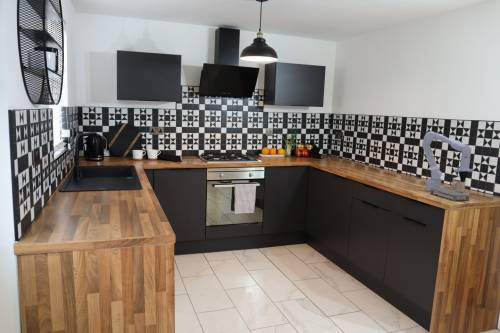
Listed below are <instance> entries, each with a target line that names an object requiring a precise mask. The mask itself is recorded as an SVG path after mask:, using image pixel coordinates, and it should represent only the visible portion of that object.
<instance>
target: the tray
mask: <svg viewBox="0 0 500 333" xmlns="http://www.w3.org/2000/svg"><path fill="white" fill-rule="evenodd" d="M436 196H438V197H442V198H445V199H448V200H452V201H453V196H451V195H447V194H444V193H440V192H436ZM465 199H466V197H457V199H456V201H465Z"/></svg>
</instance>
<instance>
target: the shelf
mask: <svg viewBox="0 0 500 333" xmlns="http://www.w3.org/2000/svg"><path fill="white" fill-rule="evenodd" d="M434 191H437V192H440V193H444V194H447V195H451V196H453V200H452V202H454V203H455V202H457V200H456V199H457V197H466V199H465V200H464V201H465V202H470V196H471V195H470V194H467V193H464V192H456V191H452V190H451V189H449V188H441V187H440V188H437V189H430V191H429V195H432V196H433V195H434V193H435V192H434ZM437 192H436V193H437Z"/></svg>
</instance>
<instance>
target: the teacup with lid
mask: <svg viewBox="0 0 500 333" xmlns="http://www.w3.org/2000/svg"><path fill="white" fill-rule="evenodd" d="M466 182H467V180H466V179H465V182H461V180H460V176H459V175H457V177H453V178H452V183H451V189H450V190H452V191H456V192H460V193H464V192H465V190H466V189H465V188H466Z"/></svg>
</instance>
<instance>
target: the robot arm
mask: <svg viewBox="0 0 500 333" xmlns="http://www.w3.org/2000/svg"><path fill="white" fill-rule="evenodd" d="M434 140H437V141H438V140H439V141H441V142H444V143H447V144H449V145H450V147H451V148H453V149H454V150H456V151H458V152H461V156H460V161H459V162H460V163H459V168H454V172H455V173H458V176H460V180H461V182H465V180H466V179H467V177H468V176H469V175H470V173H474V169H473V168H470V163H471V153H472V148H471V146H469V145H467V144H466V143H462V142H461V141H460V140H452V139H450V138H449V137H446V136H445V135H443V134H440V133H437V132H435V131H428V132H426V134H425V135H424V136H423V140H422V145H421V146H422V148H423V151H424V155H425V157H426V159H427V160H426V161H427V162H428V165H429V169H430V176H431V177H429V178H427V179H426V180H425V189H424V191H427V192H430V189H437V188H441V187H442V186H441V184H442V178H441V177H442V176H443V173H442V171H441V170H440V169H439V167H438V164H437V162H436V159H435V156H434V154H433V151H432V148H431V144H432V142H433V141H434ZM465 183H466V182H465ZM433 193H437V191H434V192H433Z"/></svg>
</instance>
